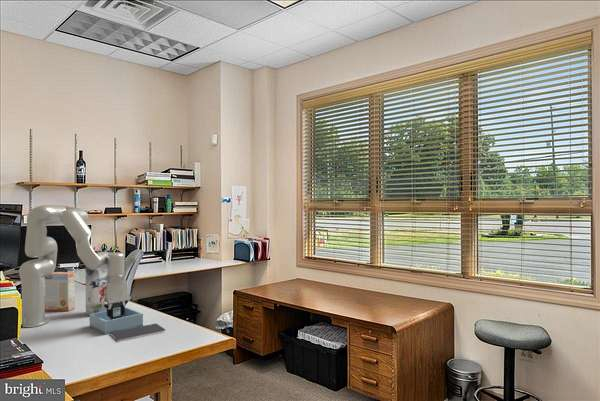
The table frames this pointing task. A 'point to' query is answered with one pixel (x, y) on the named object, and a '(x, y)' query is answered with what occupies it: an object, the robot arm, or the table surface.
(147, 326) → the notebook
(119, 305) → the ink cartridge
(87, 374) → the table surface
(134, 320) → the bin
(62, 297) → the cracker box
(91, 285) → the juice carton
